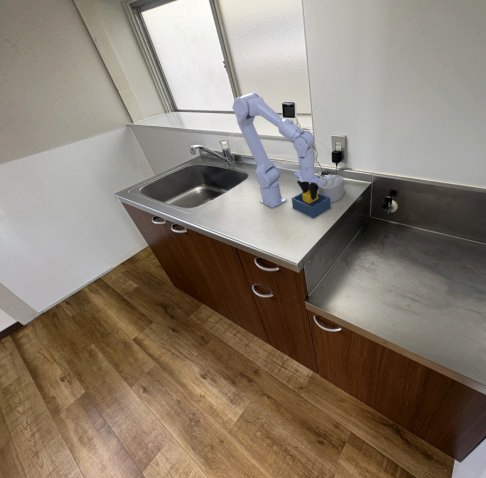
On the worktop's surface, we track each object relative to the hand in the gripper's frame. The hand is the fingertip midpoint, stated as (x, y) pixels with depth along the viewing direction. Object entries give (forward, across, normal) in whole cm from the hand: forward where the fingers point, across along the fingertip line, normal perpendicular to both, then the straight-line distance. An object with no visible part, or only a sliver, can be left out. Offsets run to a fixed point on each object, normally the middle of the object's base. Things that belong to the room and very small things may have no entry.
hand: (310, 196), depth 104 cm
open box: (+6, 0, 0) cm, 6 cm away
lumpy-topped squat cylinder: (+6, -1, +13) cm, 14 cm away
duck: (+1, 0, 0) cm, 1 cm away
